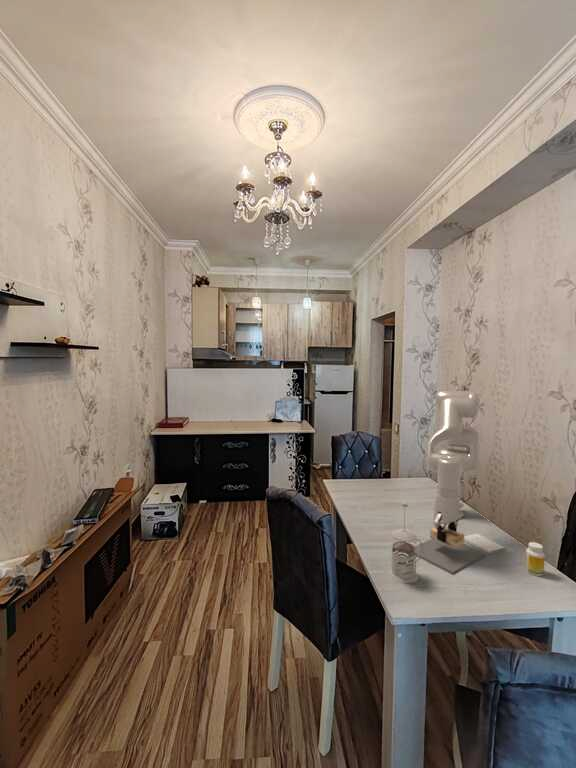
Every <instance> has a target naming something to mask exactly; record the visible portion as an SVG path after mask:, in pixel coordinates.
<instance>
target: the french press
mask: <svg viewBox="0 0 576 768" xmlns="http://www.w3.org/2000/svg"><path fill="white" fill-rule="evenodd" d="M408 506H409V505H408V503H407V502H406V501H404V502H402V503H401V507H404V510H403V511H404V512H403V514H404V515H403V528H398V529H395V530H393V531H391V536H392V537H393V539H395V540H396V542H394V543H393V544H392V548H391V567H390V568H389V569H388V575H389V577H390V578H391V579H393V580H395V581H396V582H400V583H403V584H412V583H416V582H417V581H418V580H419V574H418V573H417V562H418V561H419V560H421V558H422V556H423V554H424V546H423V544H422V543H423V542H422V541H421V540H420V539H419V538H418V536H417V534H416V533H414V532H413V531H411V530H409V529H406V528H405V526H406V525H405V522H406V516H405V515H406V508H407V507H408ZM417 541H418V542H419V544H422V545H421V551H422V546H423V554H422V556H421V558H419V557H418V556H419V555H420V553H421V551H420V553H419V555H418V556H416V552H415V555H414V550H415V545H413V544H412V542H414V543H415V544H416V542H417ZM410 542H411V543H410ZM417 558H418V559H417Z"/></svg>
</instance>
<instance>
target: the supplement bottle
mask: <svg viewBox="0 0 576 768" xmlns="http://www.w3.org/2000/svg"><path fill="white" fill-rule="evenodd" d="M543 550H544V546H543V545H542V544H540V543H538V542H533V541H531V542H529V543H528V548H526V549H525V561H524V562H525V563H524V569H525V571H526V572H527V573H529V574H530V575H532V576H536V577H537V576H538V577H542V576H543V575H545V559H546V556H545V553H544V551H543Z"/></svg>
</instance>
